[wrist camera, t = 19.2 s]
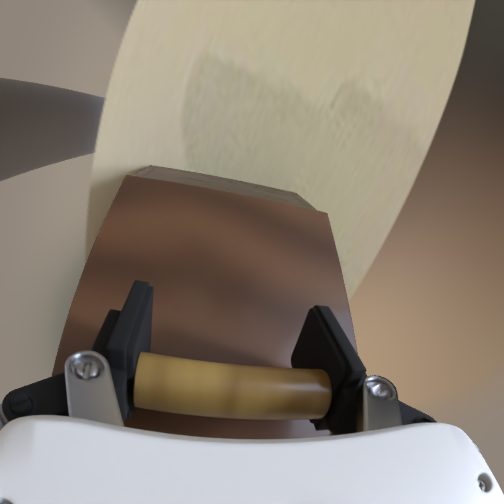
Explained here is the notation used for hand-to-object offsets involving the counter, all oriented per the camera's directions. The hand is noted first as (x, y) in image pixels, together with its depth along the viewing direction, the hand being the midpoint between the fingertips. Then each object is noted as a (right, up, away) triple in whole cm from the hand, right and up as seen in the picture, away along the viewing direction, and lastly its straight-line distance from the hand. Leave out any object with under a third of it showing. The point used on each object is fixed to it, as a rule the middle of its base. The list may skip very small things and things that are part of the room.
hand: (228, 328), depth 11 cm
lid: (-1, 0, +4) cm, 4 cm away
